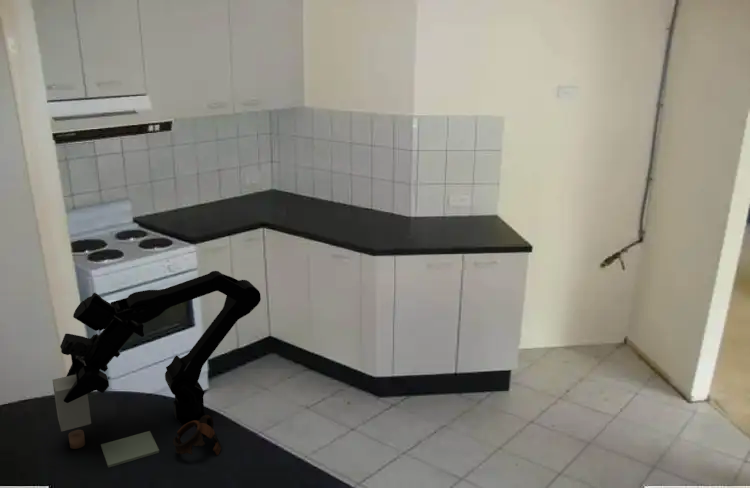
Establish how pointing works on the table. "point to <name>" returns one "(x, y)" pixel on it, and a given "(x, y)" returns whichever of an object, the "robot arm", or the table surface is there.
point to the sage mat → (129, 449)
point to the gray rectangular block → (70, 405)
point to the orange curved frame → (197, 435)
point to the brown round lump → (76, 439)
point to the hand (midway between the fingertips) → (64, 395)
